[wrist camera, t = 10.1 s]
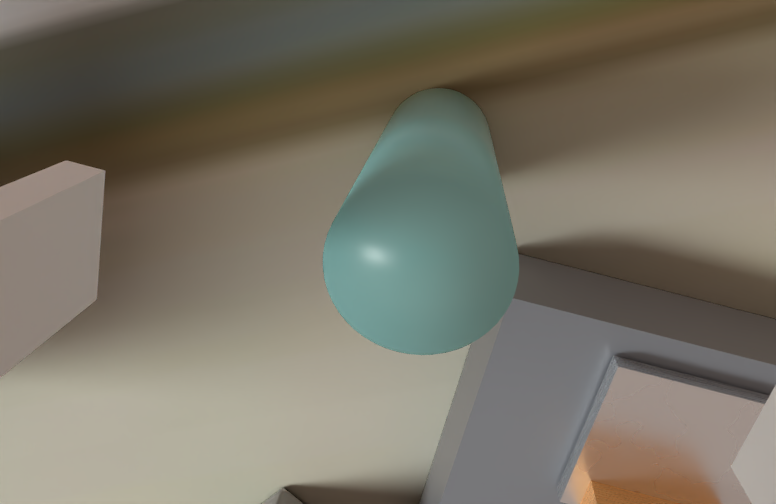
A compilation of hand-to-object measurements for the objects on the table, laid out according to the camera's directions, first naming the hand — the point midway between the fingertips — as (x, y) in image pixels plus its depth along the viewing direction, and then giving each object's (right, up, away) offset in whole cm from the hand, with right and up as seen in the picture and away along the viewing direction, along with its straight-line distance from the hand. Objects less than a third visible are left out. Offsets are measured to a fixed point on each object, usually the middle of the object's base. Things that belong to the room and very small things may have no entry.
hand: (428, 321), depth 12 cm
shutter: (+11, -6, +14) cm, 18 cm away
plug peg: (+1, +6, +15) cm, 16 cm away
